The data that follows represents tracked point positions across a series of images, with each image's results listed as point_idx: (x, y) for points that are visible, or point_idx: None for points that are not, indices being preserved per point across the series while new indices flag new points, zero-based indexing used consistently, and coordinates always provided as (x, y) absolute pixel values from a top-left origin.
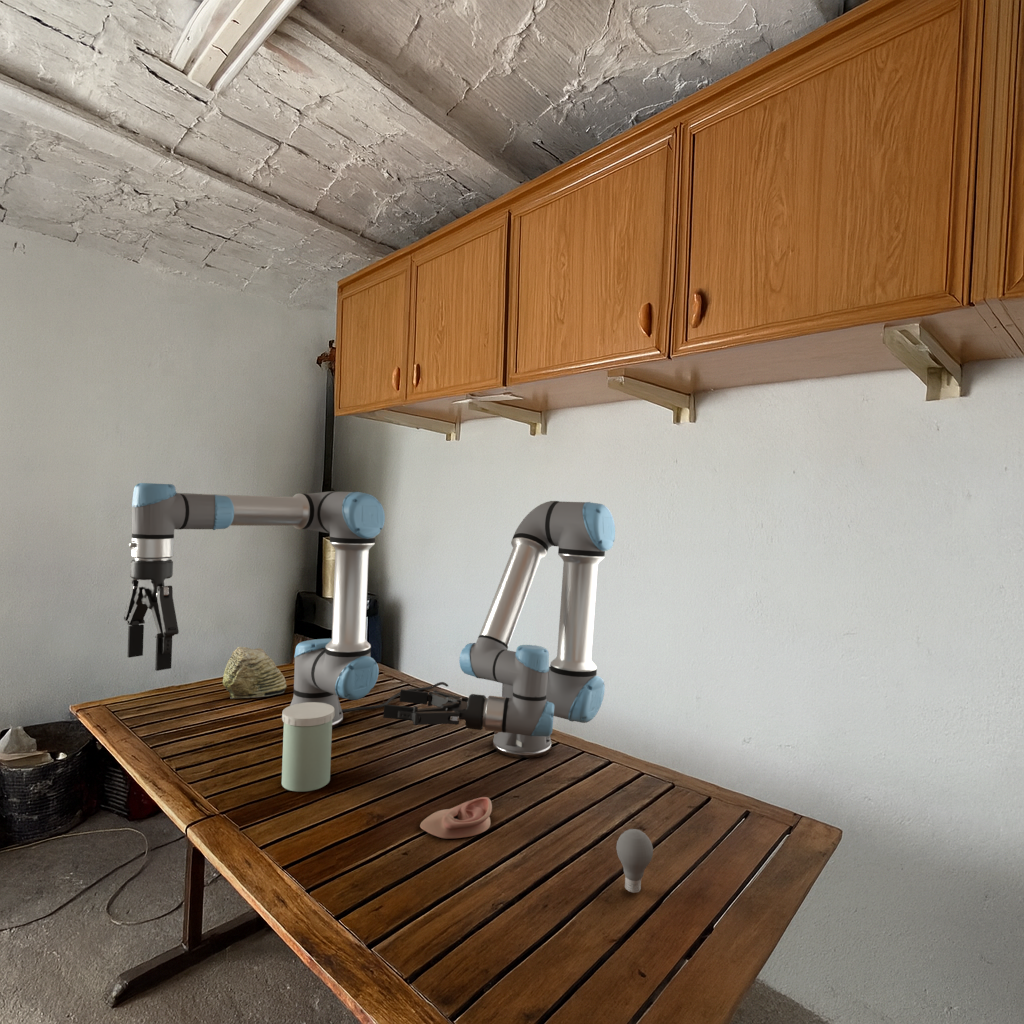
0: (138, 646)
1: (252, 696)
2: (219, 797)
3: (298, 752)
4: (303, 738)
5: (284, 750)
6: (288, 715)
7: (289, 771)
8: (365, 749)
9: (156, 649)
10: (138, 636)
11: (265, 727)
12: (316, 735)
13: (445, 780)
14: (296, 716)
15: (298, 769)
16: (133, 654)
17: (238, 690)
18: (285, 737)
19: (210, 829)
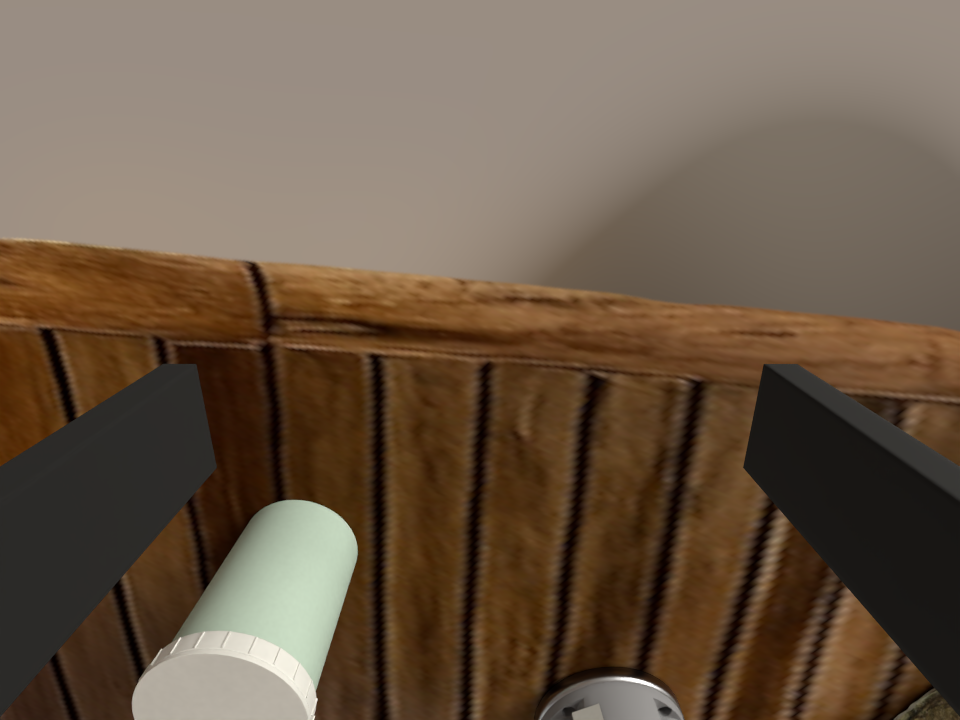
0: (800, 483)
1: (905, 714)
2: (353, 379)
3: (217, 579)
4: (188, 619)
5: (272, 565)
6: (207, 659)
7: (264, 530)
8: (371, 705)
9: (40, 458)
10: (874, 554)
11: (677, 637)
12: None
13: (118, 715)
14: (181, 670)
15: (238, 546)
16: (769, 409)
17: (946, 710)
18: (251, 595)
19: (200, 291)
